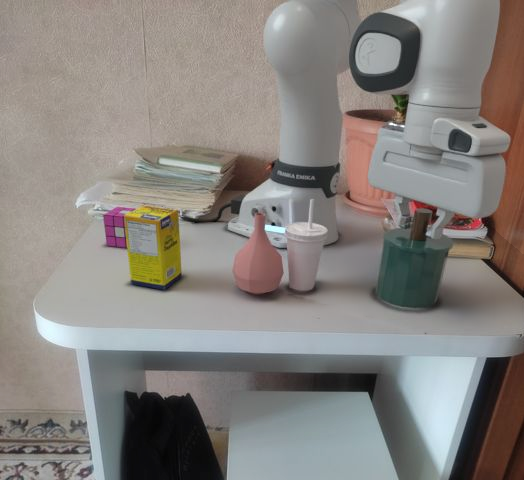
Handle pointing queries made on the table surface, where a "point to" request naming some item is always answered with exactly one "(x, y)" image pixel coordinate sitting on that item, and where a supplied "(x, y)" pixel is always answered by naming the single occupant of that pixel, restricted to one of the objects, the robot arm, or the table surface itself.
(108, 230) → the puzzle toy
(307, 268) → the smoothie
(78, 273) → the table surface
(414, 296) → the crock
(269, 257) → the pink vase
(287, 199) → the robot arm
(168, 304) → the table surface
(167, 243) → the supplement box
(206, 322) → the table surface
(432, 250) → the lid
